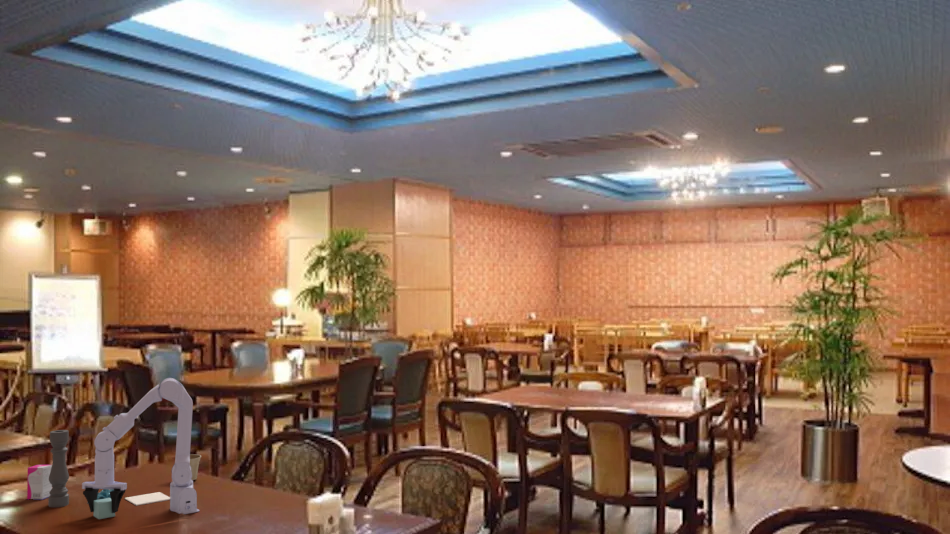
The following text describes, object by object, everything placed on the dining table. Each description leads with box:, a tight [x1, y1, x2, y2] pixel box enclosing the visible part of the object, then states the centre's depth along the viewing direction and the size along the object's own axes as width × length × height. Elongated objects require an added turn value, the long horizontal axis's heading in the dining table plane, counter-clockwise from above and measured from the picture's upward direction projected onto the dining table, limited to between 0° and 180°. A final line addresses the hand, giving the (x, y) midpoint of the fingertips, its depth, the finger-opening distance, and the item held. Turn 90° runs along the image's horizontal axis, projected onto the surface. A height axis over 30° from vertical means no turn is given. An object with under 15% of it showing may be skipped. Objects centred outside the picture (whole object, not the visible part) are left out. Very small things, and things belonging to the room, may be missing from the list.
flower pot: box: [190, 453, 202, 481], centre depth 307 cm, size 9×9×9 cm
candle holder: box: [47, 429, 70, 508], centre depth 270 cm, size 6×6×25 cm
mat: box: [124, 491, 170, 507], centre depth 277 cm, size 12×12×1 cm
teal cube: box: [92, 498, 116, 520], centre depth 257 cm, size 5×5×5 cm
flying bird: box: [86, 489, 114, 505], centre depth 279 cm, size 15×7×4 cm, turn 164°
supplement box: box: [26, 464, 52, 501], centre depth 279 cm, size 6×6×12 cm
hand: (104, 511), depth 257 cm, fingers closed on teal cube, 7 cm apart
